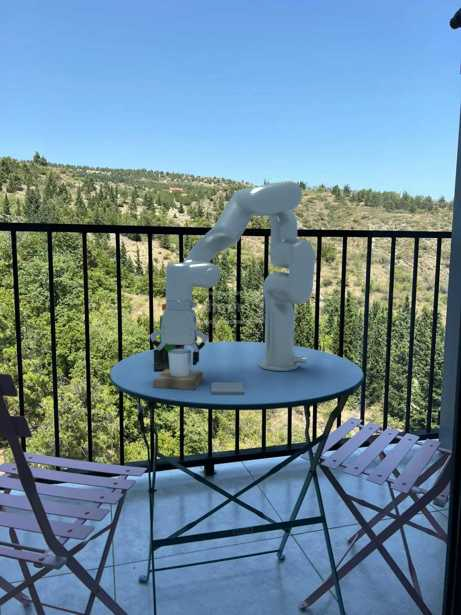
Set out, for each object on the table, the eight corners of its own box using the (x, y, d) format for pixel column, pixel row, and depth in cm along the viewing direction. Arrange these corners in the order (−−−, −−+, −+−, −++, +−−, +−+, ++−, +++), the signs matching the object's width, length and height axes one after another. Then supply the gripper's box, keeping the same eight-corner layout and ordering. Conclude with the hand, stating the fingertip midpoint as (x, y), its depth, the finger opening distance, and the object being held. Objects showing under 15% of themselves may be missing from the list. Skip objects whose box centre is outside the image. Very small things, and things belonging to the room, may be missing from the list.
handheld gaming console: (155, 368, 161) (156, 340, 166) (151, 377, 167) (151, 349, 172) (191, 371, 165) (190, 343, 170) (185, 380, 171) (184, 353, 176)
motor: (184, 365, 172) (184, 306, 170) (157, 365, 172) (157, 305, 169) (186, 358, 182) (186, 302, 180) (160, 357, 182) (160, 302, 180)
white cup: (190, 377, 148) (190, 353, 147) (166, 377, 148) (166, 353, 147) (192, 371, 155) (192, 348, 154) (169, 370, 155) (169, 348, 154)
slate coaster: (242, 385, 150) (242, 382, 150) (244, 394, 141) (244, 391, 141) (211, 384, 150) (211, 382, 150) (211, 394, 141) (211, 391, 141)
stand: (202, 378, 157) (202, 370, 156) (194, 389, 145) (194, 381, 144) (164, 376, 158) (164, 368, 158) (153, 387, 146) (153, 378, 146)
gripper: (210, 305, 151) (210, 362, 153) (153, 303, 153) (154, 359, 156) (206, 308, 144) (205, 368, 146) (146, 306, 146) (146, 365, 148)
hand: (178, 363), depth 151 cm, fingers open, 9 cm apart
